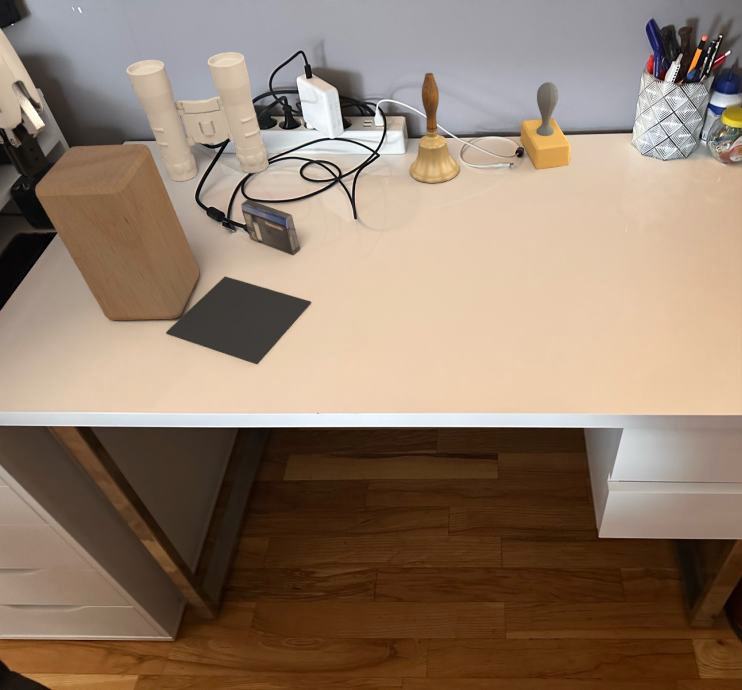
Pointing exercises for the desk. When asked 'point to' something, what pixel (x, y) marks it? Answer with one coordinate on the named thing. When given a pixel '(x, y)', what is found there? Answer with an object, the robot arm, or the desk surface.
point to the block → (121, 230)
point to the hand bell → (432, 143)
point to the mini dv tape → (270, 227)
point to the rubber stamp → (545, 132)
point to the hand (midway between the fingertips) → (34, 169)
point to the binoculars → (201, 115)
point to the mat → (239, 319)
